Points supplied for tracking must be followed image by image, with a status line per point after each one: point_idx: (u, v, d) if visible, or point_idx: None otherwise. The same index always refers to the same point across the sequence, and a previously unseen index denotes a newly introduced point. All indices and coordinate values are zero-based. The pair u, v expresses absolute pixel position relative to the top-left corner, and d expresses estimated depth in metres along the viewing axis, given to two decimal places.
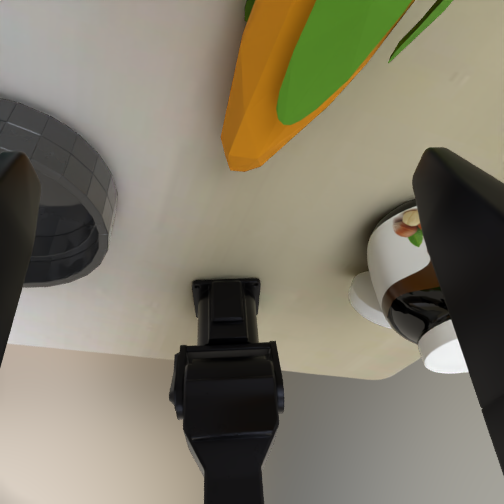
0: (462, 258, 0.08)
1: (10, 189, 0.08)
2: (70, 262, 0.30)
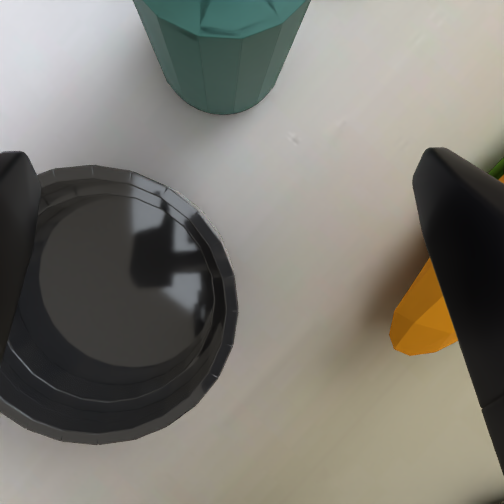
0: (462, 258, 0.08)
1: (10, 189, 0.08)
2: (110, 417, 0.20)
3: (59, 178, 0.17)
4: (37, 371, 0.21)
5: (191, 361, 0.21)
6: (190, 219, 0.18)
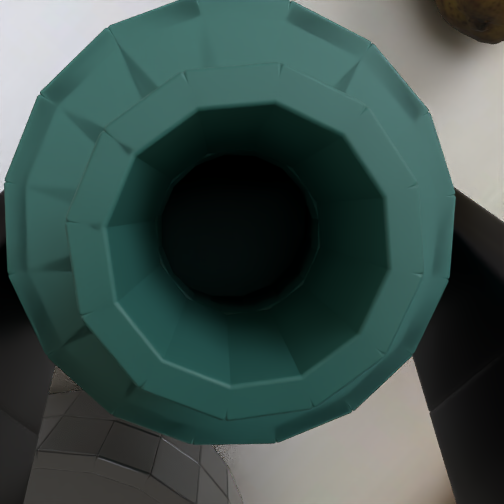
0: None
1: None
2: None
3: None
4: None
5: None
6: None
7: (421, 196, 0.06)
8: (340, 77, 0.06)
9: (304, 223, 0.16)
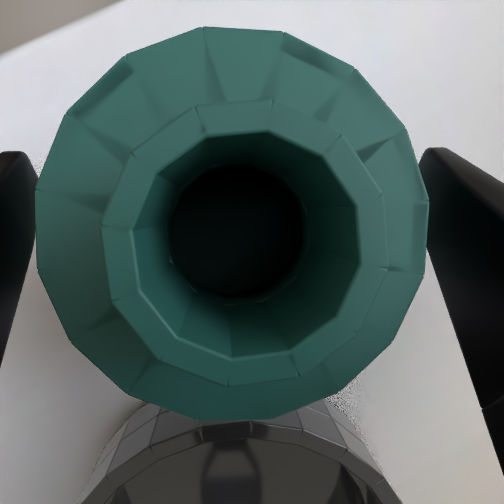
0: (462, 258, 0.08)
1: (10, 189, 0.08)
2: None
3: (255, 434, 0.13)
4: None
5: None
6: None
7: (399, 202, 0.07)
8: (327, 98, 0.07)
9: (301, 224, 0.16)
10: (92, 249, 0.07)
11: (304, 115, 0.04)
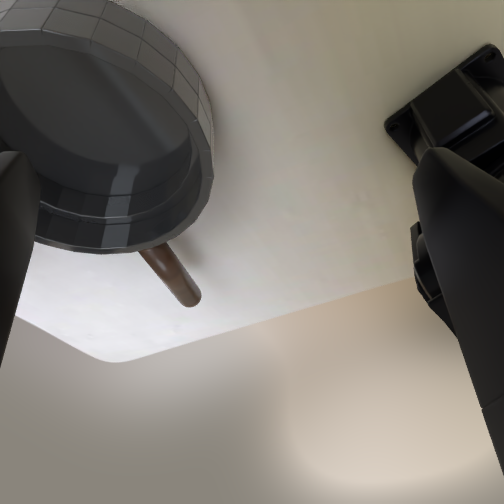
0: (462, 258, 0.08)
1: (10, 189, 0.08)
2: (198, 178, 0.22)
3: None
4: (149, 206, 0.25)
5: None
6: None
7: None
8: None
9: None
10: None
11: None
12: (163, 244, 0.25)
